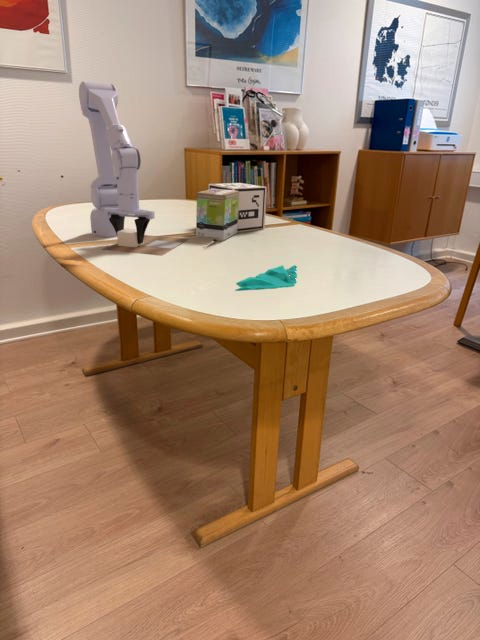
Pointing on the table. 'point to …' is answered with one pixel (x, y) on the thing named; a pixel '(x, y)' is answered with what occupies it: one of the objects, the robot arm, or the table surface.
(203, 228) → the tea box
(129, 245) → the cream cube
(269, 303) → the table surface
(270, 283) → the cloth
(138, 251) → the board
